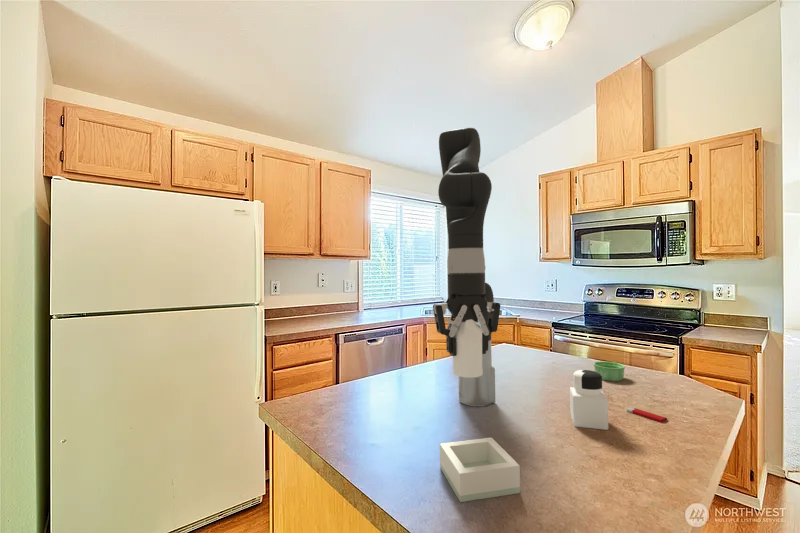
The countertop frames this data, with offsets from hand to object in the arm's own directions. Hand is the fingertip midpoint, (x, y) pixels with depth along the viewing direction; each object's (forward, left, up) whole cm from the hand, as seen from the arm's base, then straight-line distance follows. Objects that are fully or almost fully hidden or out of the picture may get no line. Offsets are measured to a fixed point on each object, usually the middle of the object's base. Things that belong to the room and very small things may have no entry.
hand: (467, 353), depth 75 cm
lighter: (-49, -6, -21) cm, 53 cm away
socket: (+2, +10, -20) cm, 22 cm away
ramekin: (-64, -35, -20) cm, 76 cm away
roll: (0, 0, -4) cm, 4 cm away
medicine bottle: (-33, -6, -20) cm, 39 cm away
